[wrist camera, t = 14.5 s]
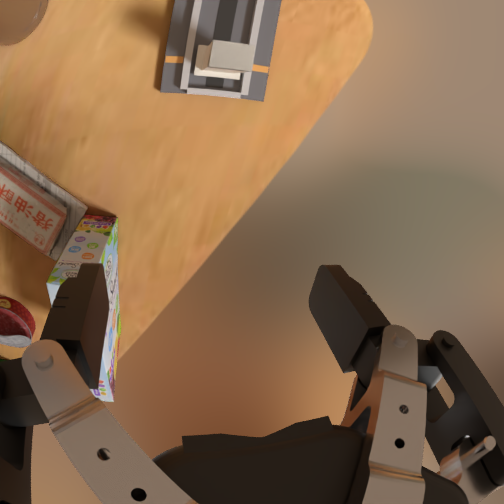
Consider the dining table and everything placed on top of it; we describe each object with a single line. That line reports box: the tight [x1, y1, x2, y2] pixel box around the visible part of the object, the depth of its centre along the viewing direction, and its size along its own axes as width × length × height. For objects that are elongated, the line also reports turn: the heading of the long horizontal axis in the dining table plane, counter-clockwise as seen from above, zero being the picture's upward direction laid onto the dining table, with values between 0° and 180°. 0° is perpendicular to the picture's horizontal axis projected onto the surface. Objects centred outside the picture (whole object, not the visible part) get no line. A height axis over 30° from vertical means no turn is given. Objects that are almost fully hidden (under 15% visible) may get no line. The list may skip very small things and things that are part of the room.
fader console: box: [160, 0, 281, 102], centre depth 26 cm, size 12×20×2 cm, turn 171°
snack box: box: [46, 215, 121, 402], centre depth 35 cm, size 21×6×15 cm, turn 167°
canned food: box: [0, 297, 35, 348], centre depth 38 cm, size 11×10×10 cm
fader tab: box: [194, 40, 255, 80], centre depth 25 cm, size 5×4×10 cm
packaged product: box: [0, 141, 88, 261], centre depth 30 cm, size 18×5×10 cm
